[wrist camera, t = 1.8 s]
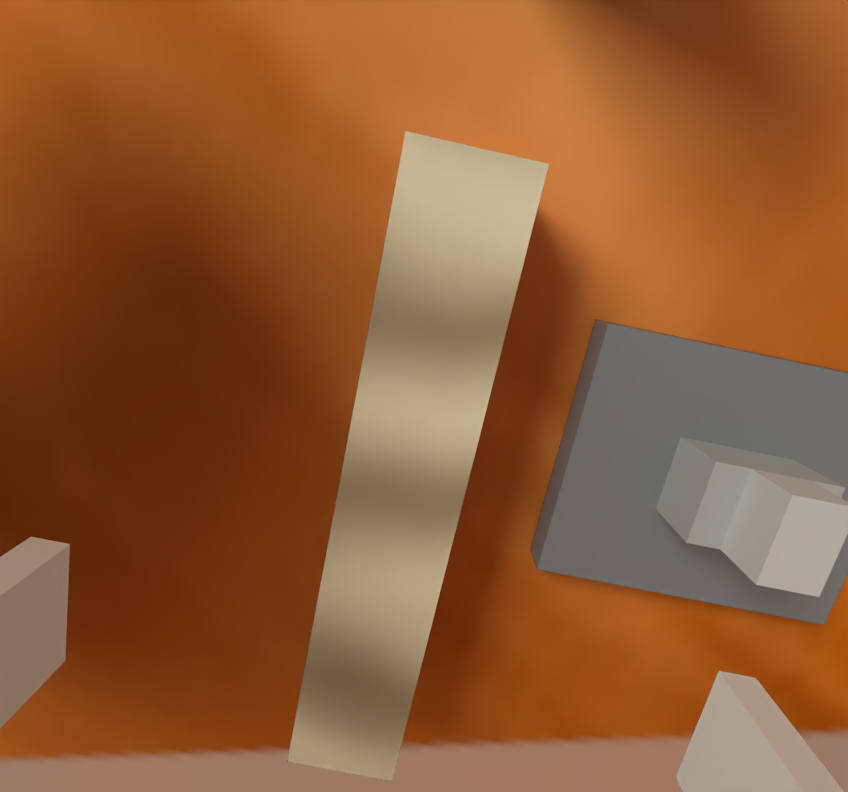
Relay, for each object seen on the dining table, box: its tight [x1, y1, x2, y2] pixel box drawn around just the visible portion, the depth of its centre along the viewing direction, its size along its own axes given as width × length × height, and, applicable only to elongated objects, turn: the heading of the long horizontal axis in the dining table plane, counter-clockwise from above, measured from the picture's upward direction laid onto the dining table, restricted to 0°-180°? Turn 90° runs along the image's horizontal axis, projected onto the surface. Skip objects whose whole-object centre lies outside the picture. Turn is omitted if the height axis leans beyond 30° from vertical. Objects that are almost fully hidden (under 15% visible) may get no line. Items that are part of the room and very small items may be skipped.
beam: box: [287, 131, 549, 781], centre depth 19 cm, size 22×4×5 cm, turn 168°
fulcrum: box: [530, 320, 848, 625], centre depth 18 cm, size 12×10×6 cm
